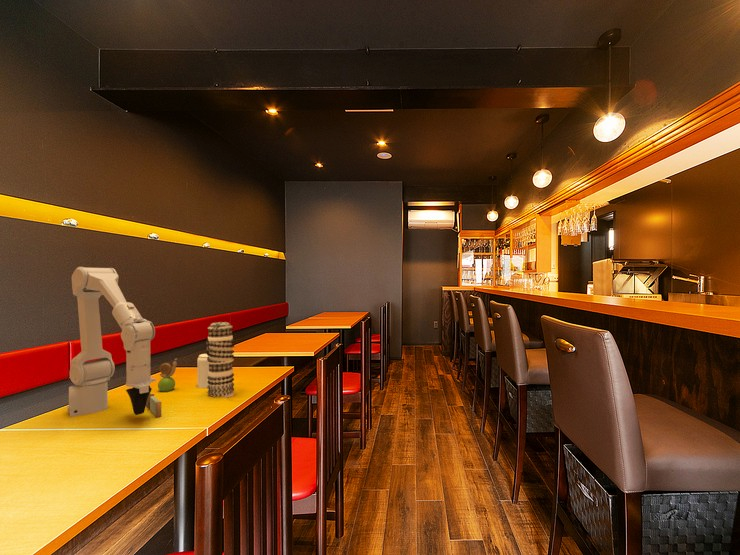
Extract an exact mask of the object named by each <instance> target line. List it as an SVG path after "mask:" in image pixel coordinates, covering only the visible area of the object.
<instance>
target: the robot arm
mask: <svg viewBox="0 0 740 555" xmlns="http://www.w3.org/2000/svg"><path fill="white" fill-rule="evenodd" d="M119 278H120V277H119V274H118V272H117V271H116V269H115V268H113V267H84V266H78V267H76V268H75V269H74V271H73V273H72V275H71V288H72V295H73V296H75V297H76V299H77V310H78V311H77V312H78V324H79V325H78V326H79V336H80V338H79V339H80V348H81V351H80V352H79V353H78V354H77V355H75V356H74V357H73V358H72V359H71V360H70V369H69V379H70V381H71V382H72V383H73V384H74V385H70V386H69V387H68V405H67V412H68V414H69V417H70V418H73V417H77V416H78V417H79V416H83V415H89V414H94V413H95V414H96V413H99V412H102V411H105V410H107V409H108V400H109V399H108V398H109V397H108V381H111V377H113V375H114V374H115V369H116V368H115V367H116V366H115V362H114V361H113V359H112V354H111V352H109V351H107V350H105V349H103V338H102V328H101V315H100V304H99V302H100V301H99V300H100V298H101V296H104V298H105V299H106V300H107V301H108V303H109V304H110V305H111V307H112V308H113V309H112V311H111V314H112V316H113V319H115V321H116V322H117V324H118V326H119V328H120V329H121V333H120V338H121V341H122V342H123V349H124V351H125V354H126V356H125V357H126V358H125V359H126V360H125V362H126V364H125V365H126V370H125V372H126V373H125V374H126V382H125V386H126V387H128V389H127V388H126V389H125V392H126V393H127V395H128V396H129V399H130V404H131V406H132V411H133V414H134V415H135V416H138V415H142V414H144V413H145V410H146V407H147V406H146V402H147V398H148V396H149V394H151V392H152V389H153V388H152V387H151V386H150V384H151V383H153V382H156V378H155V377H151V376H152V375H151V371H152V370H151V341H152V340H153V339H154V338H155V336H156V329H155V326H154V324H153V322H152V321H150V320H147V319H146V318H143V316H142V315H141V313H140V312H139V310H138V309H137V307H136V306H135V305H134V303H132V302H129V301H127V299H126V298H125V295H124V293H123V292H122V290H121V288H120V286H119ZM129 387H130V388H129Z"/></svg>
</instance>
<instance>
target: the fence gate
mask: <svg viewBox="0 0 740 555" xmlns="http://www.w3.org/2000/svg"><path fill="white" fill-rule="evenodd" d="M149 411H151V413H152V414H153V415H154V416H155V418H160V417H162V401H160V400H159V399H158V398H157V397H155V395H154V396H151V397H150V410H149Z"/></svg>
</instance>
